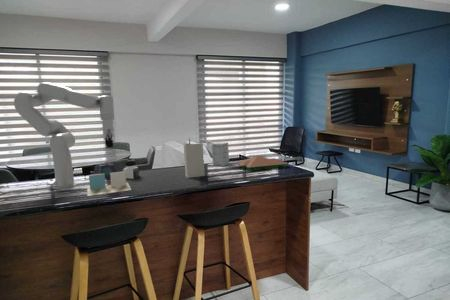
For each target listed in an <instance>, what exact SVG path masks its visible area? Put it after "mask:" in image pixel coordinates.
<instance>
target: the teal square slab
mask: <svg viewBox="0 0 450 300" xmlns="http://www.w3.org/2000/svg"><path fill="white" fill-rule="evenodd" d="M88 181H89V188H90V190H94V189H102V188H106V185H107V184H106V179H105V174H99V173H95V174H89V175H88Z"/></svg>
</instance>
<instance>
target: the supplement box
mask: <svg viewBox="0 0 450 300" xmlns="http://www.w3.org/2000/svg"><path fill="white" fill-rule="evenodd" d="M211 151H212V152H211V153H212V166H215V167H225V166H228V165H230V156H229V155H230V153H229V152H230V151H229V142H219V141H218V142H214V143H211Z"/></svg>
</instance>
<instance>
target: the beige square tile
mask: <svg viewBox="0 0 450 300" xmlns="http://www.w3.org/2000/svg"><path fill="white" fill-rule="evenodd" d="M109 179H110V185H111V187H117V186H125V185H126V183H127V178H126V177H125V171H123V170H121V171H114V172H112V173H110V178H109Z"/></svg>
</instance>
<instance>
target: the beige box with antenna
mask: <svg viewBox="0 0 450 300" xmlns="http://www.w3.org/2000/svg"><path fill="white" fill-rule="evenodd" d="M183 156H184V159H183V161H184V171H185V174H184V175H185V177H186V178H187V179H188V178H189V179H190V178H198V177H205V175H206V174H205V159H204V144H203V142H199V143H191V139H190V137H188V143H185V142H184V143H183Z"/></svg>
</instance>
